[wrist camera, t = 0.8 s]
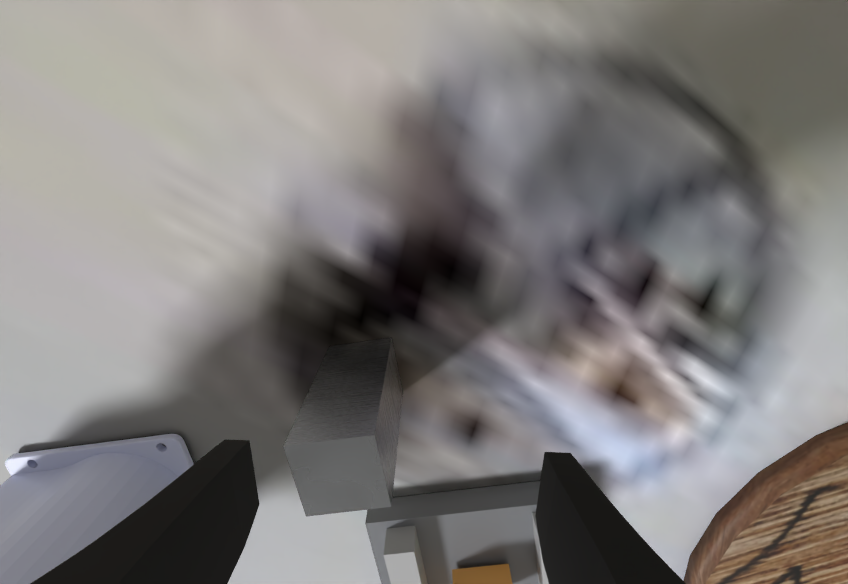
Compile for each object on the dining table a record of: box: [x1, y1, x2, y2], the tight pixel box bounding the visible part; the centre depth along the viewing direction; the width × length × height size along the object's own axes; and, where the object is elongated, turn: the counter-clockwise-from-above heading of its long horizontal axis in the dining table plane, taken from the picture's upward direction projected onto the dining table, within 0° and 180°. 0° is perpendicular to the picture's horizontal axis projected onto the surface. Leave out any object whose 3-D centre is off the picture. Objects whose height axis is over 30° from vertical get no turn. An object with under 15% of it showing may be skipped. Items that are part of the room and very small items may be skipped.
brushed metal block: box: [283, 338, 403, 516], centre depth 18 cm, size 3×3×7 cm
